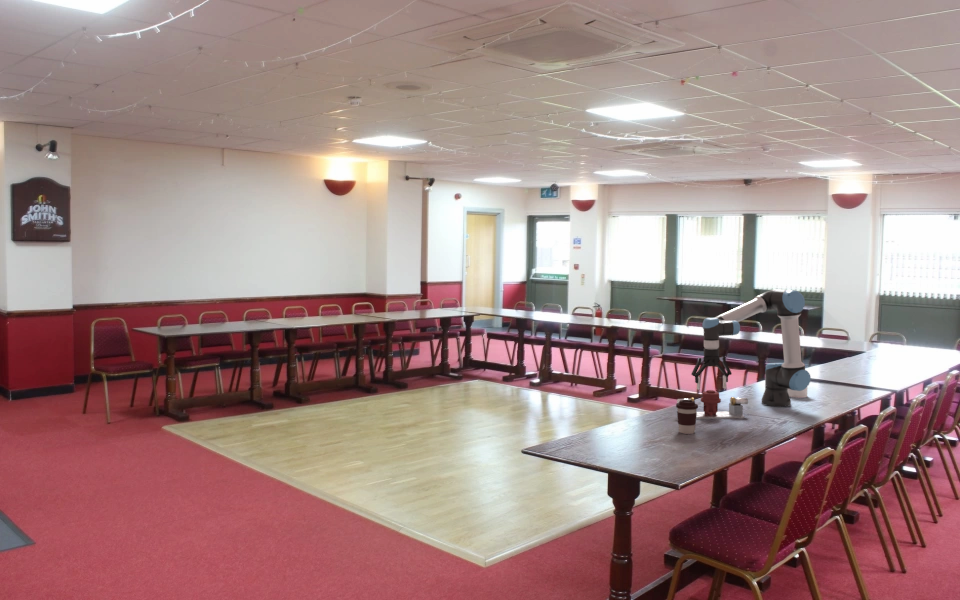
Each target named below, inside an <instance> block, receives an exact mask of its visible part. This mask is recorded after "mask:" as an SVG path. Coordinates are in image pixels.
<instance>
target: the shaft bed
mask: <svg viewBox="0 0 960 600" xmlns="http://www.w3.org/2000/svg"><path fill="white" fill-rule="evenodd" d="M680 400H692V401H694V402H695V398H694V397H690V398H677V400H676V401H677V402H676V404H677V403H679V401H680ZM695 403H696V402H695ZM748 404H749V398H747V397H740V398H739V397H737V398H735V396H731V397H730V399H729V404H728V411H718V412H716V414H714V415H712V416H710V415H708V414H705V413H704V411H696V412H697V416H696V420H713V419H714V420H719V419H720V420H722V419H723V420H724V419H726V420H727V419H730V420H731V419H745V417H746V416H744V415H743V413H744V412H743V410H744V406H743V405H748Z"/></svg>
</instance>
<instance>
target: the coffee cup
mask: <svg viewBox="0 0 960 600" xmlns="http://www.w3.org/2000/svg"><path fill="white" fill-rule="evenodd" d="M675 407H676V409H677V411H676V412H677V413H676V414H677V424H678V425H677V426H678V432H679V433H680V434H686V435H693V434H694V433H696V432H695V431H696V424H697V419H696V416H697V412H698V411H697V409H699V405H698V404H697V403H696V402H694V401H692V400H680V401H679V403H677V402H676V403H675Z"/></svg>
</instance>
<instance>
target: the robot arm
mask: <svg viewBox="0 0 960 600" xmlns="http://www.w3.org/2000/svg"><path fill="white" fill-rule="evenodd" d="M805 305H806V300H805V297H804V294H802V292H800V291H798V290H794V289H784V288H773V289H770V290H767V291H764V292H763V293H761V294H758V295H757V296H756V295H755V296H754V298H753V299H752V300H749V301H748V302H745V303H743V304H741V305H739V306H737V307H734V308H733V309H730V310H728V311H726V312H723V313H721V314H719V315H716V316H715V317H706V318H704V319H703V321H702V324H701V325H702V329H703V347H704V348H703V357H697V361H696V363H695V366H694V368H693V370H692V371H691V374H690V375H691V376H693V377H694V383H695V384H696V390H698V391H700V390H701V377H700V375H701V374H702V373H703V372H704V371H705V370H706V368H708V367H717V368H718V369H719V370H720V372H721V373H722V374H723V375H722V389H724V390H726V389H727V383H728V382H729V376H731V375H732V371H731V369H730V367H729V365H728V363H727V362H726V357H724V356H721V357H720V349H719V348H720V337H725V336H737V335H738V334H740V331H741V325H740V322H741V321H743V320H746V319H748V318H750V317H753V316H755V315H756V314H757V315H758V314H759V313H766V312H768V311H769V312H770V311H776V312H777V313H776V314H777V317H778V318H779V319H780V324H781V337H782V338H781V339H782V349H783V350H782V351H783V362H771V363H766V365H765V370H764V374H765V377H764V379H765V380H764V381H765V383H764V388H765V389H764V392H763V395H762V397H761V404H762V405H764V406H769V407H779V408H781V407H785V408H786V407H790V406H792V399H791V397H789V394H788V389H791V390H794V391H795V390H796V391H802V390H804V389H806V388H807V389H808V386H809V385H810V383H811V374H810V372H809V371H808V370H806V365H805V363H804V362H802V354H801V353H802V352H801V339H800V327H799V325H800V323H799V317H800V316H801V315H802V311H803V310H804V307H805ZM720 361H721V362H722V365H723V367H724V368H723V367H722V366H721V365H720V363H719V362H720ZM702 362H703V363H702ZM701 364H702V365H701ZM700 366H701V367H700Z"/></svg>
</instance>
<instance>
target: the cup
mask: <svg viewBox="0 0 960 600" xmlns="http://www.w3.org/2000/svg"><path fill="white" fill-rule="evenodd" d="M788 394H789V397H790V398H797V399H798V398H799V399H800V398H801V399H804V398H807V397H808V387H807V388H806V389H804V390H802V391H796V390H795V391H794V390H791V389H788Z"/></svg>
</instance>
